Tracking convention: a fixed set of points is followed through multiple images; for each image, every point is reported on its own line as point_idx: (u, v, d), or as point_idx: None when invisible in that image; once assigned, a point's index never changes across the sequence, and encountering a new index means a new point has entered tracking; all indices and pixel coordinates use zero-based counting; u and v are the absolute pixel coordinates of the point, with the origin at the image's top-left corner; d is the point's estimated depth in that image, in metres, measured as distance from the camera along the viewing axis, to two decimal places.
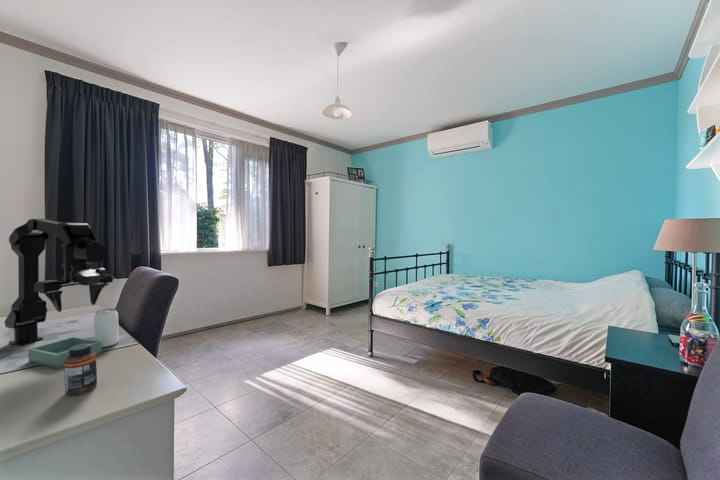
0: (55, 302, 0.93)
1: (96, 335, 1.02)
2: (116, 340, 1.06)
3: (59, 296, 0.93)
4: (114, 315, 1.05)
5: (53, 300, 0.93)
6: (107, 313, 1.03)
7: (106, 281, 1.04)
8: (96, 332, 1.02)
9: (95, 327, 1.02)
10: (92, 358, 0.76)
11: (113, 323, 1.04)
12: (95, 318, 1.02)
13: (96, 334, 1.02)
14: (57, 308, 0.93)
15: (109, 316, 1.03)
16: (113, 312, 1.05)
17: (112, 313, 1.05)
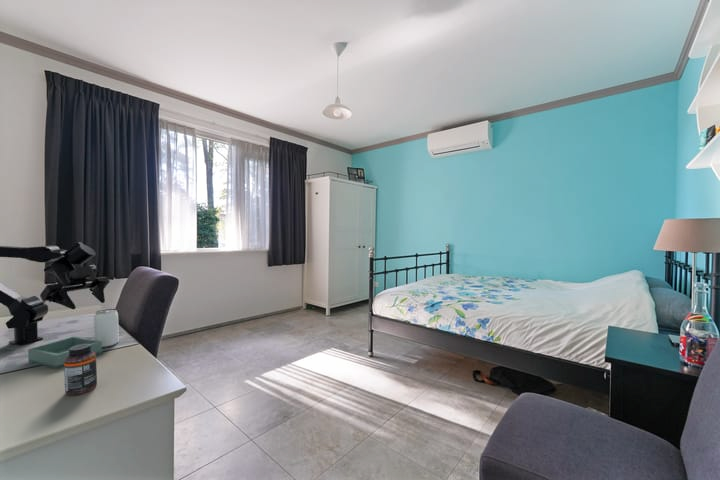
0: (66, 301, 1.02)
1: (96, 335, 1.02)
2: (116, 340, 1.06)
3: (66, 295, 1.02)
4: (114, 315, 1.05)
5: (64, 301, 1.02)
6: (107, 313, 1.03)
7: (103, 280, 1.14)
8: (96, 332, 1.02)
9: (95, 327, 1.02)
10: (92, 358, 0.76)
11: (113, 323, 1.04)
12: (95, 318, 1.02)
13: (96, 334, 1.02)
14: (71, 306, 1.02)
15: (109, 316, 1.03)
16: (113, 312, 1.05)
17: (112, 313, 1.05)
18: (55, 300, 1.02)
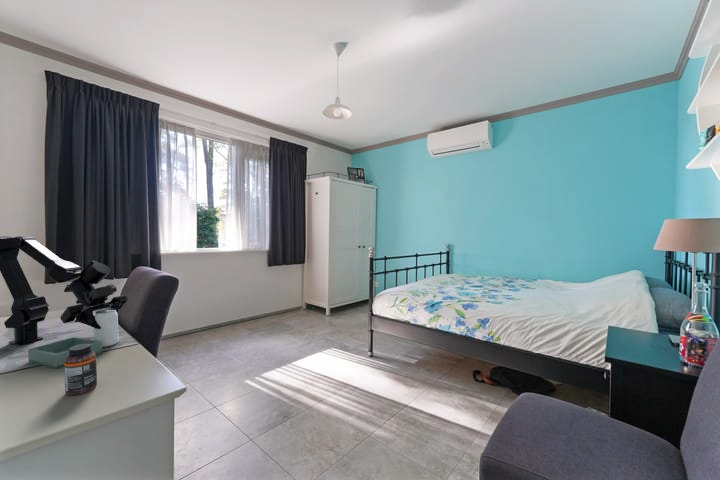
0: (92, 322, 1.02)
1: (96, 335, 1.02)
2: (116, 340, 1.06)
3: (92, 315, 1.02)
4: (113, 315, 1.05)
5: (90, 322, 1.02)
6: (107, 313, 1.03)
7: (122, 299, 1.12)
8: (96, 332, 1.02)
9: None
10: (92, 358, 0.76)
11: (112, 323, 1.04)
12: (95, 318, 1.02)
13: (96, 334, 1.02)
14: (97, 326, 1.02)
15: (109, 316, 1.03)
16: (113, 312, 1.05)
17: (112, 313, 1.04)
18: (81, 320, 1.01)
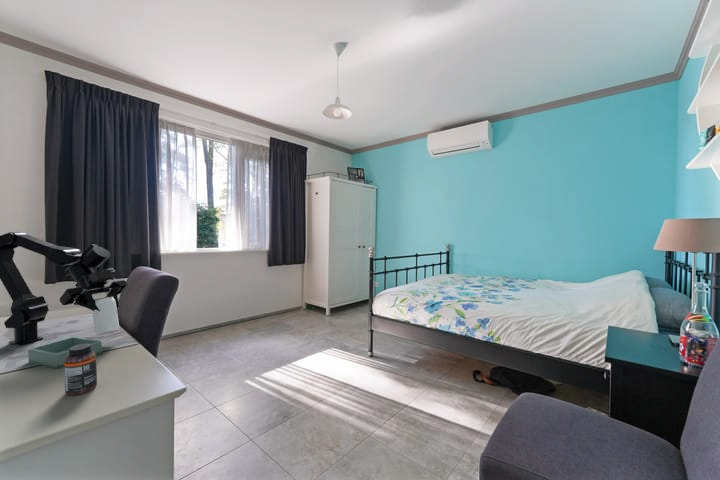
0: (91, 304, 1.01)
1: (96, 322, 1.02)
2: (117, 326, 1.05)
3: (91, 298, 1.02)
4: (112, 301, 1.05)
5: (89, 305, 1.01)
6: (105, 299, 1.03)
7: (121, 283, 1.12)
8: (96, 319, 1.02)
9: (94, 314, 1.02)
10: (92, 358, 0.76)
11: (112, 309, 1.04)
12: None
13: (96, 321, 1.02)
14: (96, 309, 1.02)
15: (107, 301, 1.03)
16: (111, 298, 1.05)
17: (110, 298, 1.05)
18: (80, 303, 1.01)
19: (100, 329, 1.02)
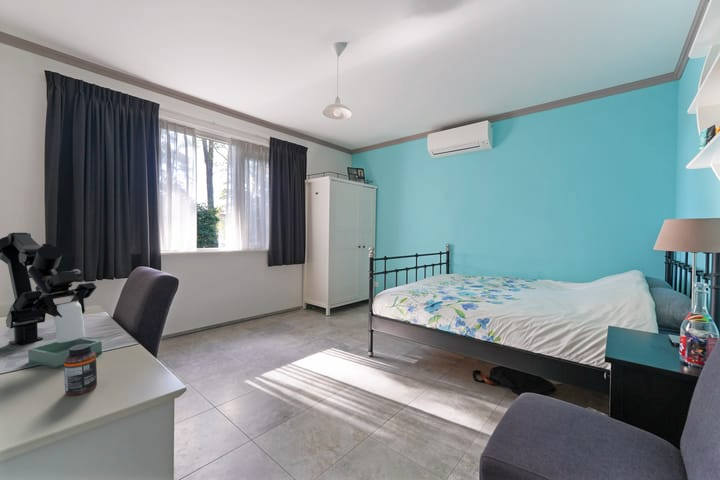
0: (52, 310, 0.91)
1: (58, 329, 0.92)
2: (82, 333, 0.96)
3: (52, 302, 0.92)
4: (76, 305, 0.95)
5: (49, 310, 0.92)
6: (68, 303, 0.93)
7: (89, 286, 1.02)
8: (57, 326, 0.92)
9: (56, 321, 0.92)
10: (92, 358, 0.76)
11: (76, 314, 0.94)
12: None
13: (58, 328, 0.92)
14: (57, 315, 0.92)
15: (71, 306, 0.94)
16: (75, 302, 0.95)
17: (74, 303, 0.95)
18: (39, 308, 0.91)
19: (63, 337, 0.92)
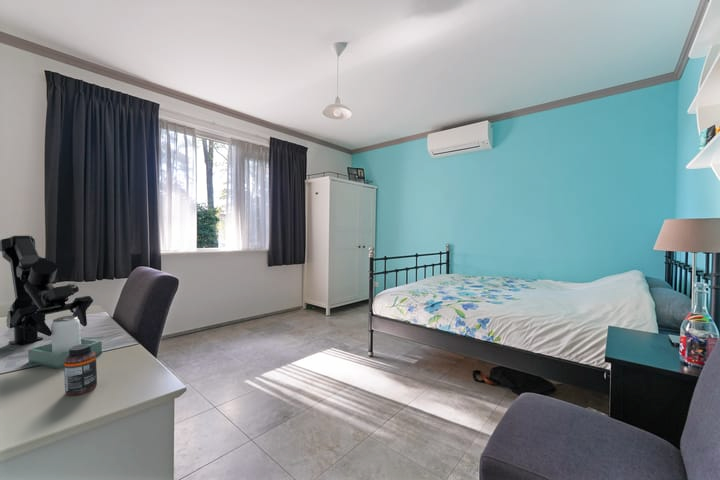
0: (40, 327, 0.89)
1: (54, 346, 0.91)
2: None
3: (41, 319, 0.89)
4: (75, 323, 0.93)
5: (38, 327, 0.89)
6: (67, 321, 0.92)
7: (85, 300, 1.01)
8: (54, 343, 0.90)
9: (53, 337, 0.90)
10: (92, 358, 0.76)
11: (74, 332, 0.93)
12: (52, 327, 0.90)
13: (54, 345, 0.90)
14: (46, 332, 0.89)
15: (70, 324, 0.92)
16: (74, 319, 0.93)
17: (73, 320, 0.93)
18: (28, 326, 0.89)
19: None
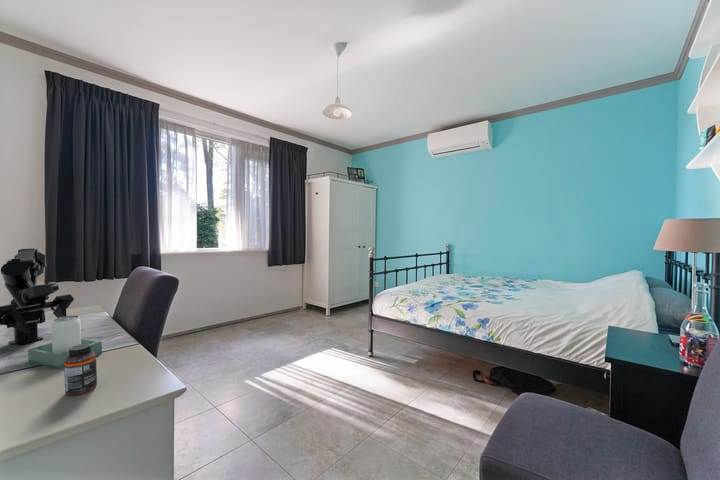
0: (19, 324, 0.91)
1: (55, 346, 0.91)
2: None
3: (20, 317, 0.92)
4: (76, 323, 0.94)
5: (17, 325, 0.91)
6: (68, 321, 0.92)
7: (66, 298, 1.04)
8: (55, 342, 0.91)
9: (53, 337, 0.91)
10: (92, 358, 0.76)
11: (75, 332, 0.93)
12: (53, 327, 0.91)
13: (55, 345, 0.91)
14: (25, 329, 0.92)
15: (70, 324, 0.92)
16: (75, 319, 0.94)
17: (74, 320, 0.93)
18: (7, 323, 0.91)
19: None
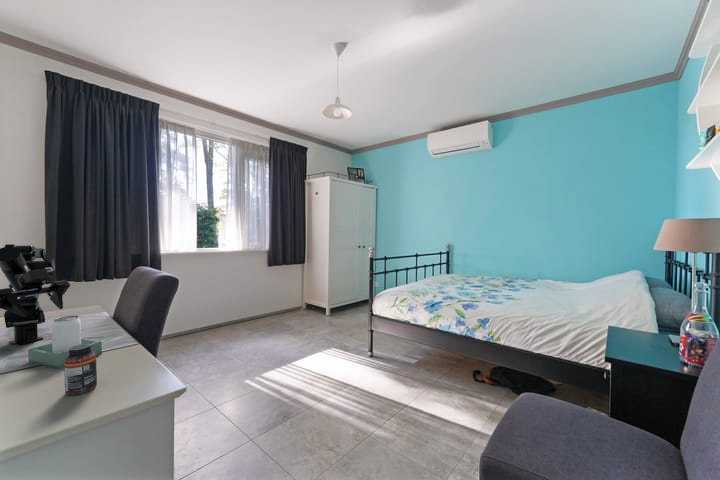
0: (16, 308, 0.92)
1: (55, 346, 0.91)
2: None
3: (16, 301, 0.93)
4: (76, 323, 0.93)
5: (13, 308, 0.93)
6: (68, 321, 0.92)
7: (62, 284, 1.05)
8: (55, 342, 0.91)
9: (53, 337, 0.91)
10: (92, 358, 0.76)
11: (75, 332, 0.93)
12: (53, 327, 0.91)
13: (55, 345, 0.91)
14: (21, 313, 0.93)
15: (71, 324, 0.92)
16: (75, 319, 0.94)
17: (74, 320, 0.93)
18: (4, 307, 0.92)
19: None
